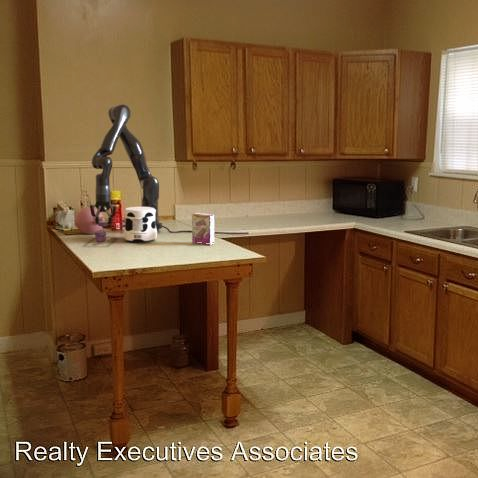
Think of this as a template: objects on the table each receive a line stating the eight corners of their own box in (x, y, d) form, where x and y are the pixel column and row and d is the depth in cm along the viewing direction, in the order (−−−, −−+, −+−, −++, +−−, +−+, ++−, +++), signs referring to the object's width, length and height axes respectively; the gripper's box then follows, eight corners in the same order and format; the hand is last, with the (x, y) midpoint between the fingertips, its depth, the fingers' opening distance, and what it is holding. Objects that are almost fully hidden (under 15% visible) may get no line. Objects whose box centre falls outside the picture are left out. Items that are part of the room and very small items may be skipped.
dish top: (110, 225, 331) (110, 220, 331) (107, 227, 326) (107, 222, 325) (100, 225, 331) (99, 220, 330) (97, 227, 325) (96, 222, 325)
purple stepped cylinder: (107, 235, 325) (107, 230, 324) (104, 237, 319) (104, 232, 319) (96, 235, 324) (96, 230, 324) (93, 237, 319) (93, 232, 318)
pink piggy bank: (89, 239, 329) (88, 211, 326) (70, 234, 341) (69, 207, 338) (114, 235, 341) (113, 208, 338) (95, 230, 353) (94, 204, 350)
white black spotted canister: (147, 237, 340) (146, 205, 336) (163, 242, 328) (162, 209, 324) (118, 240, 328) (117, 207, 324) (133, 246, 316) (132, 211, 312)
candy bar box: (191, 243, 326) (191, 213, 323) (196, 242, 331) (196, 212, 328) (210, 245, 323) (210, 215, 320) (214, 244, 327) (214, 214, 324)
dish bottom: (107, 240, 325) (107, 235, 325) (104, 242, 320) (104, 237, 319) (97, 240, 325) (96, 235, 324) (94, 242, 319) (93, 237, 319)
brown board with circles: (117, 238, 334) (117, 237, 333) (107, 246, 312) (106, 245, 312) (95, 238, 333) (95, 237, 332) (83, 246, 311) (83, 245, 311)
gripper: (87, 193, 321) (88, 225, 324) (114, 194, 322) (115, 225, 325) (91, 192, 328) (92, 222, 331) (118, 192, 329) (119, 223, 332)
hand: (103, 224), depth 328 cm, fingers closed on dish top, 5 cm apart
